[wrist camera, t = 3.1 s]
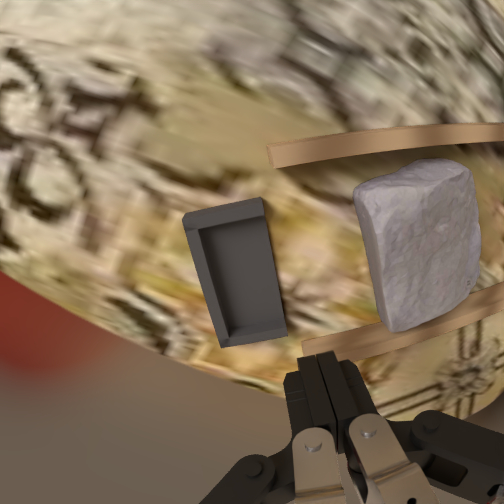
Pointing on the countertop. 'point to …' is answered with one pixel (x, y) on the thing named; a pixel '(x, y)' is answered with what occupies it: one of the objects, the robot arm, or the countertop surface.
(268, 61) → the countertop surface
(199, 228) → the dark gray shallow tray
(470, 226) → the stone block
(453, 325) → the channel
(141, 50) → the countertop surface
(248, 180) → the countertop surface
